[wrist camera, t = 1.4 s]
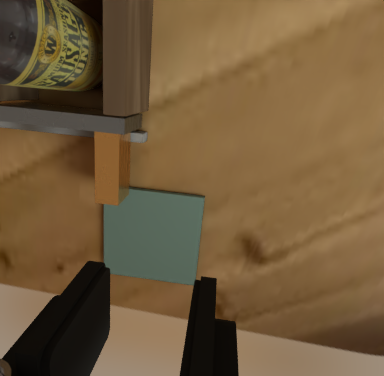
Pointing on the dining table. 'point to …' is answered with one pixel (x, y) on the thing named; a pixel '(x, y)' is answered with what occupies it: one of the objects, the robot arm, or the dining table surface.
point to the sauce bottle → (49, 46)
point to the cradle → (111, 67)
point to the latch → (103, 135)
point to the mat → (154, 235)
